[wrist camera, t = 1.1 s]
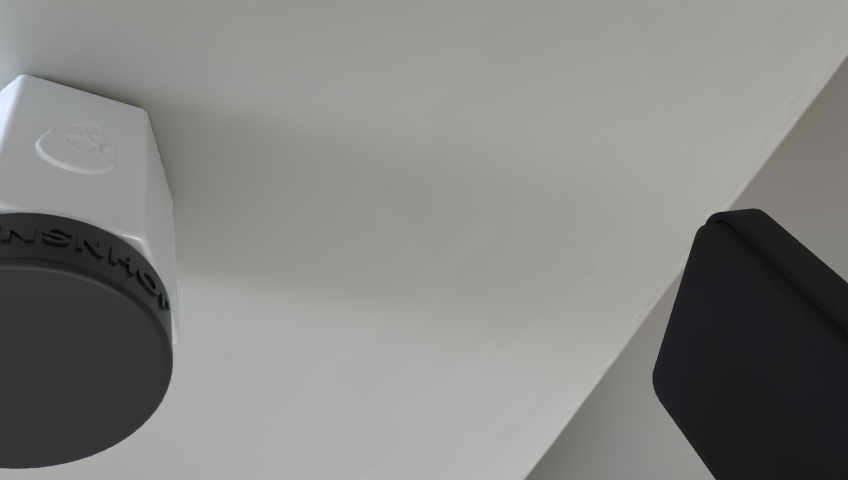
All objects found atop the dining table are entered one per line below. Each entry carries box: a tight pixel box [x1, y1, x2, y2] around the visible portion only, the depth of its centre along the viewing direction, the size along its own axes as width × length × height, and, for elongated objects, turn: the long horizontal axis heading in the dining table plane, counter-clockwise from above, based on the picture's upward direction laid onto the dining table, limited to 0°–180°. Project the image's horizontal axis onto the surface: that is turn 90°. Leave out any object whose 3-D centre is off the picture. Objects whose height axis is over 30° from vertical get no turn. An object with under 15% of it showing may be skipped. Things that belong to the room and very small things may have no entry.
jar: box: [0, 74, 179, 469], centre depth 27 cm, size 9×8×12 cm
